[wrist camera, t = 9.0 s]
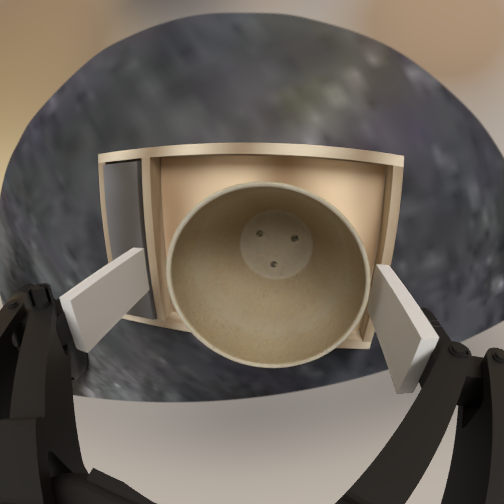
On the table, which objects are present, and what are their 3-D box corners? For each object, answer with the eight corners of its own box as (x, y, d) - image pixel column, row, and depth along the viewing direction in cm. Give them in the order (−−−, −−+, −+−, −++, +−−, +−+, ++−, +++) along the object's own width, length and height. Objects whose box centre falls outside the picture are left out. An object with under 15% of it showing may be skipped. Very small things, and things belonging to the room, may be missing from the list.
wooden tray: (132, 307, 25) (116, 322, 22) (114, 153, 20) (93, 154, 17) (364, 334, 21) (370, 355, 19) (393, 155, 16) (407, 156, 14)
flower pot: (220, 306, 22) (188, 364, 15) (200, 180, 19) (148, 195, 12) (346, 303, 20) (361, 367, 13) (345, 168, 17) (372, 175, 10)
